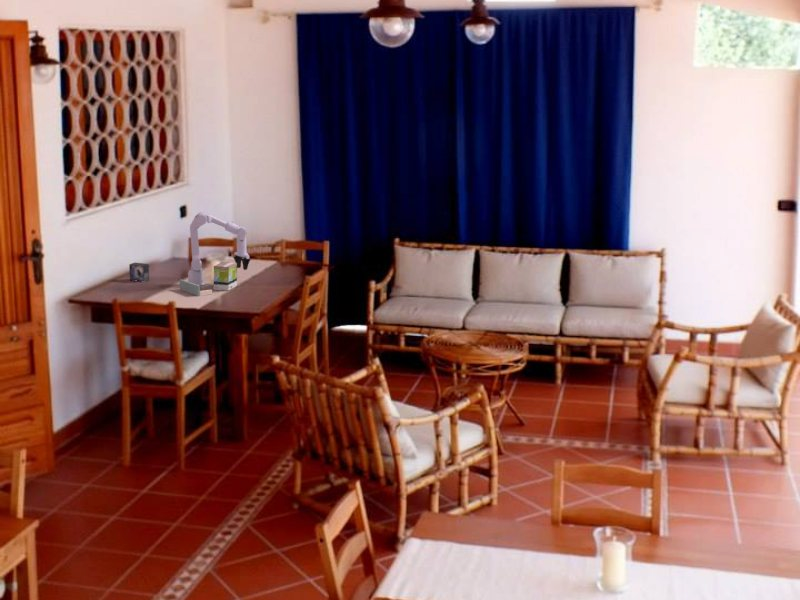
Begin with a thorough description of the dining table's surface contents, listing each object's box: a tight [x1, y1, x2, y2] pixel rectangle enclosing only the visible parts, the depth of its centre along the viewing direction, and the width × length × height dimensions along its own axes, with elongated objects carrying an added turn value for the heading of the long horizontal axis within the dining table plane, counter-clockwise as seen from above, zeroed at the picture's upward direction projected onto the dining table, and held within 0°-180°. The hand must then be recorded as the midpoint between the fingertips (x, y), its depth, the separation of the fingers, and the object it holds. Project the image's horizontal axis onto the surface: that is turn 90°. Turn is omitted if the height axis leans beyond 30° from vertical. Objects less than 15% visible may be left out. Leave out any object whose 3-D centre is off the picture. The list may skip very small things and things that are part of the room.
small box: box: [128, 262, 150, 282], centre depth 720 cm, size 11×6×10 cm, turn 68°
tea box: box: [213, 261, 238, 291], centre depth 702 cm, size 15×10×15 cm
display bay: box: [179, 278, 213, 297], centre depth 691 cm, size 22×9×6 cm, turn 38°
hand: (242, 268), depth 714 cm, fingers open, 7 cm apart
